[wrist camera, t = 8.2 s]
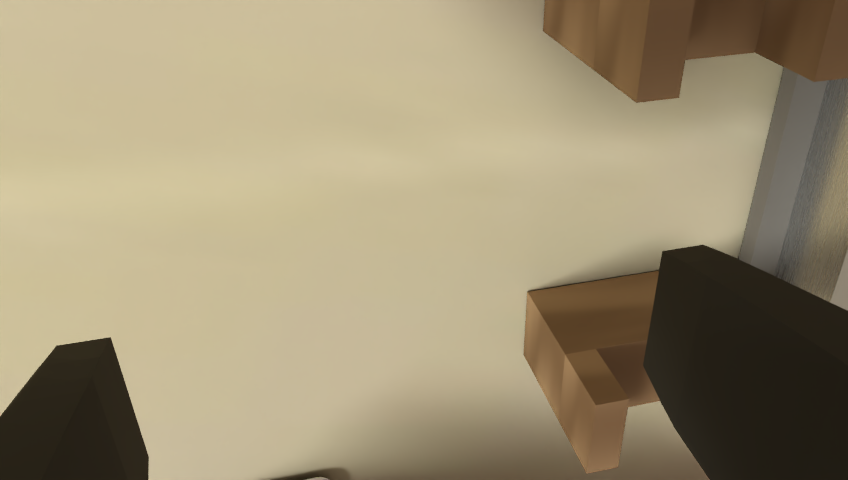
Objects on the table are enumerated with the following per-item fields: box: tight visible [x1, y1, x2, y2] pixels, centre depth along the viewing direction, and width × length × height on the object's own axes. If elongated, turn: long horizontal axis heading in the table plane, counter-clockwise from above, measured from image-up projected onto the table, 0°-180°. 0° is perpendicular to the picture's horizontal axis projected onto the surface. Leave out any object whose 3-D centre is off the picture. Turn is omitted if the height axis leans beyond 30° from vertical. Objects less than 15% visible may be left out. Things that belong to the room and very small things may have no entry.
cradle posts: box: [524, 0, 848, 474], centre depth 19 cm, size 13×5×5 cm, turn 2°
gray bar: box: [739, 67, 828, 275], centre depth 22 cm, size 18×4×1 cm, turn 2°
